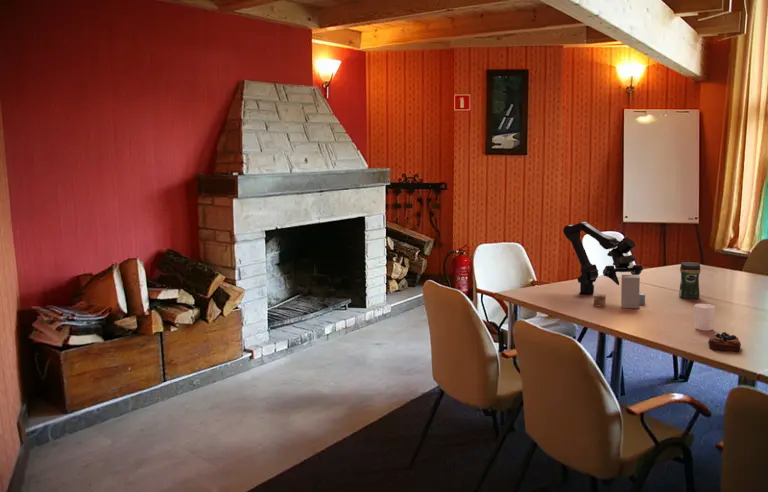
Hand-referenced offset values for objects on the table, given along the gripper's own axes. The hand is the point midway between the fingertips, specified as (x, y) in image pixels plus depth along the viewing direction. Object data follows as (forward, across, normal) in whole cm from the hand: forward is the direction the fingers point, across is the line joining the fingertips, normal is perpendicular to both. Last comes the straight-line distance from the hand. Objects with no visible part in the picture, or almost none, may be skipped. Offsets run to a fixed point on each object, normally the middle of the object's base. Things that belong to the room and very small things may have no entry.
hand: (627, 284), depth 309 cm
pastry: (+57, +6, -41) cm, 70 cm away
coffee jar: (-1, +39, +16) cm, 42 cm away
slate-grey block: (+5, +8, +10) cm, 14 cm away
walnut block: (+5, -12, +10) cm, 17 cm away
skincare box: (+10, 0, +6) cm, 11 cm away
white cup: (+39, +13, -23) cm, 47 cm away
